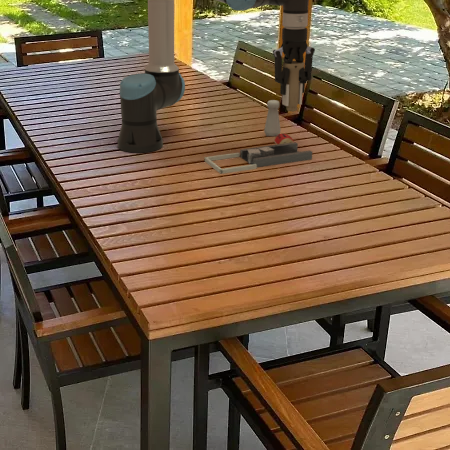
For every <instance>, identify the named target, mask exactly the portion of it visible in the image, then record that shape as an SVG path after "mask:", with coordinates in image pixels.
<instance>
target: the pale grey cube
mask: <svg viewBox="0 0 450 450" xmlns="http://www.w3.org/2000/svg"><path fill="white" fill-rule="evenodd" d="M260 154H261V152H260V151H259V149H249V150H247V161H248V162H249V163H248V162H247V163H248V165H251V164H253V158H259V157H260Z"/></svg>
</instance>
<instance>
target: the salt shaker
mask: <svg viewBox="0 0 450 450" xmlns="http://www.w3.org/2000/svg"><path fill="white" fill-rule="evenodd" d="M266 102H267V104H266V107H267V108H268V110H267V114H266V115H267V116H266V120H265V125H264V129H263V130H264V134H265V136H266V137H277V136H278V135H279V134H281V131H282V129H281V125H280V124H281V123H280V115H279V108H280V101H279V100H275V99H270V100H268V101H266Z"/></svg>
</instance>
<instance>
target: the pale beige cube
mask: <svg viewBox="0 0 450 450" xmlns="http://www.w3.org/2000/svg"><path fill="white" fill-rule="evenodd" d="M262 147H263V146H262ZM259 151H260V152H261V154H260V157H267V156H274V149H272V148H269V147H263V148H259Z"/></svg>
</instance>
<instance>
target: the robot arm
mask: <svg viewBox="0 0 450 450" xmlns="http://www.w3.org/2000/svg"><path fill="white" fill-rule="evenodd" d="M216 1H217V2H220V3H223V4H227V5H228V6H229V8H231V9H232V10H233V11H238V12H239V11H243V12H244V11H247V10H250V9H253V8H258V7H262V6H282V22H281V23H282V26H283V27H282V30H281V31H282V32H281V46H280V47H279V48H277V49H273V50H272V53H273V54H272V55H273V57H274V82H275V83H278V84H280V90H279V93H280V95H282V97H281V98H282V99H281V100H282V101H281V104H282V106H285V107H286V106H288V104H289V85H288V84H287V81H288V76H289V72H290V69H288V68H284V67H283V62H284V63H287V64H291V63H292V62H293V61H296V62H299V63H303V62H304V67H303V68H301V69H300V70H299V100H298V105H303V94H305V90H306V88H305V87H306V84H307V83H308V81H311V79H312V68H313V59H314V54H315V52H316V49H315V47H311V46H308V43H307V40H308V28H307V27H308V23H309V5H310V3H309V1H310V0H216ZM147 18H148V19H147V22H148V23H147V26H148V64H147V65H145V67H144V73H136V74H130V75H127V76H125V77H123V78H122V79H121V80H120V83H119V97H120V98H119V99H120V113H121V114H120V115H121V127H120V131H119V134H118V138H117V148H118V149H119V150H121V151H123V152H128V153H139V154H140V153H151V152H155V151H157V150H160V149H161V148H163V145H164V140H163V139H164V138H163V136H162V133H161V131H160V128H159V126H158V122H157V120H158V119H157V112H158V111H159V110H161V109H165V108H168V107H172V106H174V105H175V104H176V103H178V102H180V100H181V99H182V98H183V96H184V94H185V92H186V91H185V90H186V83H185V82H186V81H185V79H184V77H182V74H181V73H180V68H179V66H178V65H177V64H175V0H147ZM283 54H284V56H283ZM304 54H305V57H304Z"/></svg>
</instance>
